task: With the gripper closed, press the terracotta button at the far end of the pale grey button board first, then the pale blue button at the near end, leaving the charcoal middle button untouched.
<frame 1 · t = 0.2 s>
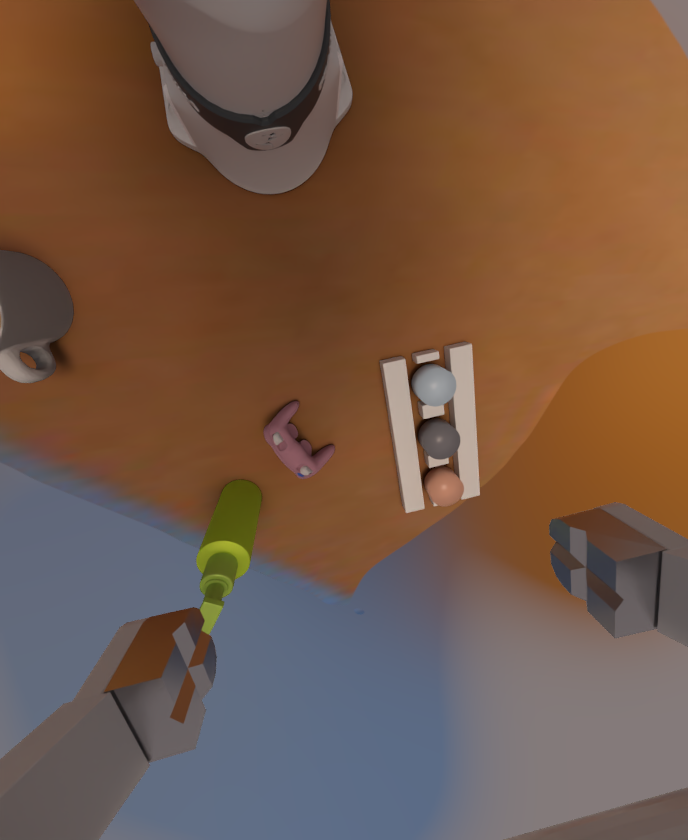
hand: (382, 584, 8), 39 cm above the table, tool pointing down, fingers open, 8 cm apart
charcoal button: (438, 438, 48), point 3 cm above the table, slide at 0.0 cm
coffee mug: (33, 315, 39), on the table
video game controller: (300, 433, 49), on the table
soap dispenser: (240, 498, 51), on the table
terracotta button: (443, 486, 51), point 3 cm above the table, slide at 0.0 cm
button board: (431, 430, 50), on the table
pale blue button: (433, 384, 45), point 3 cm above the table, slide at 0.0 cm
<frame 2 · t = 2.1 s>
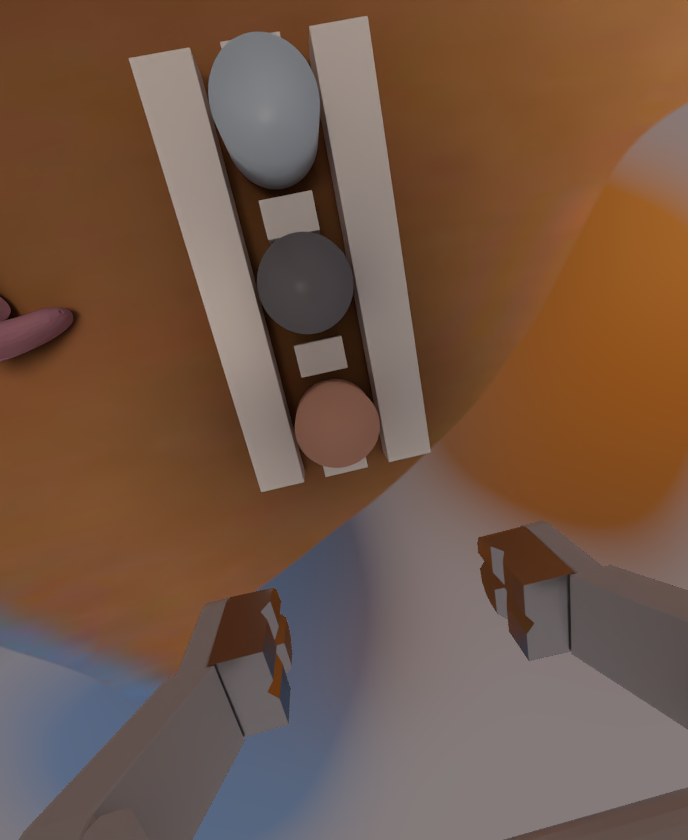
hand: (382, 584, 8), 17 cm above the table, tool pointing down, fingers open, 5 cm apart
charcoal button: (306, 288, 19), point 3 cm above the table, slide at 0.0 cm
terracotta button: (335, 421, 21), point 3 cm above the table, slide at 0.0 cm
button board: (306, 293, 22), on the table
pale blue button: (268, 120, 17), point 3 cm above the table, slide at 0.0 cm
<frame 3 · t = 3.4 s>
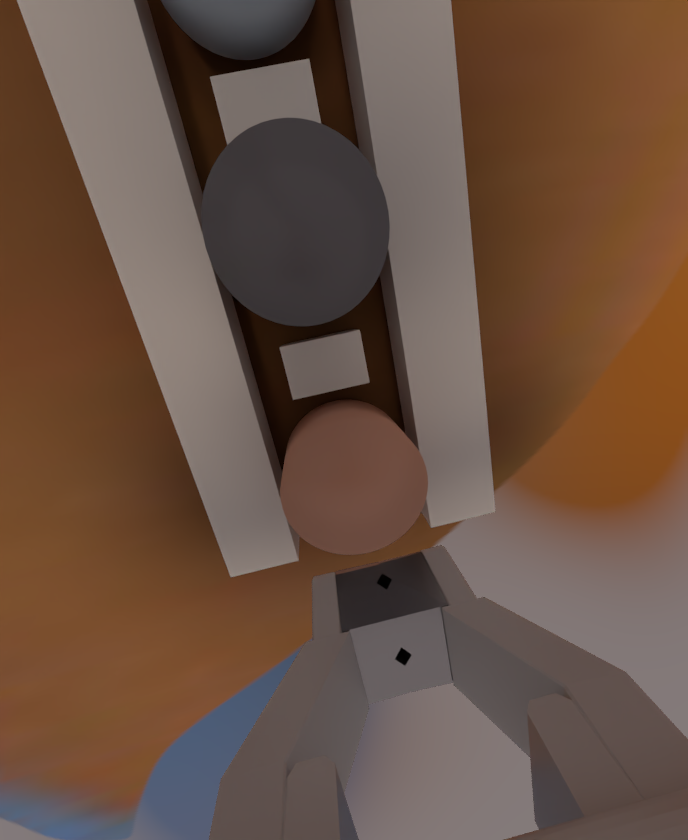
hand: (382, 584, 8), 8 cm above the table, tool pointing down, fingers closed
charcoal button: (299, 242, 11), point 3 cm above the table, slide at 0.0 cm
terracotta button: (350, 472, 13), point 3 cm above the table, slide at 0.0 cm
button board: (301, 260, 13), on the table
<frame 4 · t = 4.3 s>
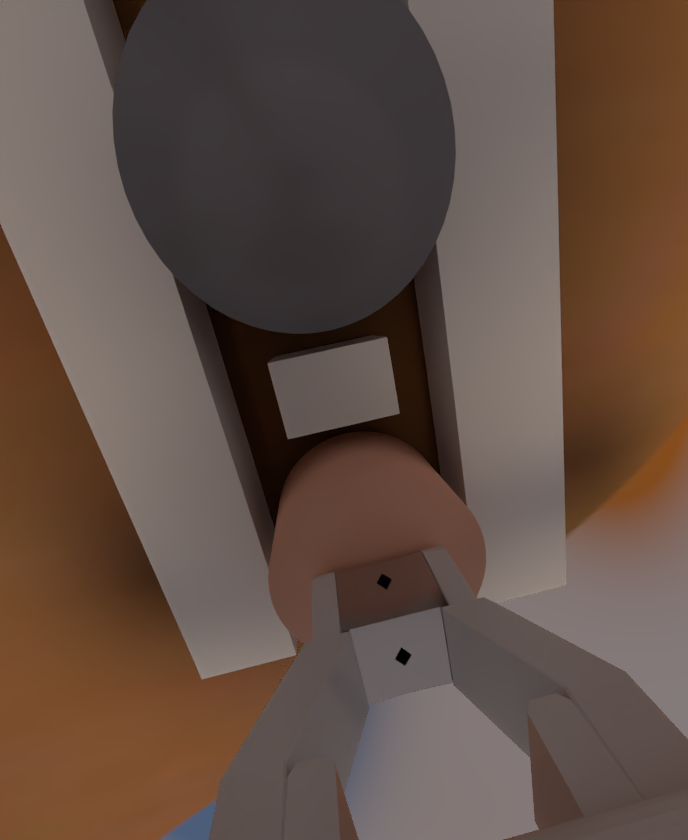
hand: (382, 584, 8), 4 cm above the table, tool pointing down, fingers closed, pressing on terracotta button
charcoal button: (296, 197, 6), point 3 cm above the table, slide at 0.0 cm
terracotta button: (369, 536, 9), point 3 cm above the table, slide at 0.4 cm, touching gripper
button board: (300, 236, 9), on the table
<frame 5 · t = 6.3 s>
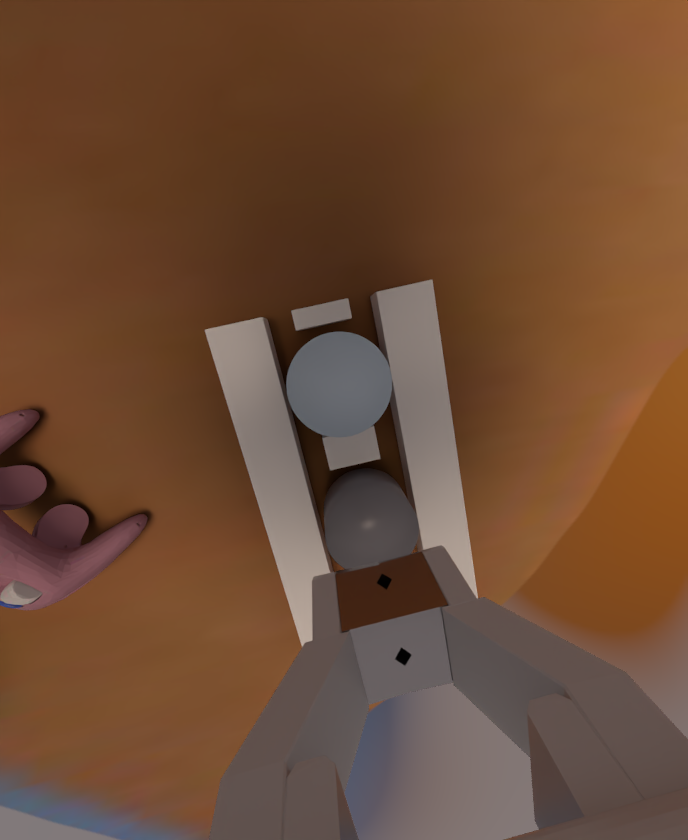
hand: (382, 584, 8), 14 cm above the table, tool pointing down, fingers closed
charcoal button: (368, 518, 19), point 3 cm above the table, slide at 0.0 cm
video game controller: (67, 489, 21), on the table
button board: (361, 495, 22), on the table
pale blue button: (337, 382, 17), point 3 cm above the table, slide at 0.0 cm
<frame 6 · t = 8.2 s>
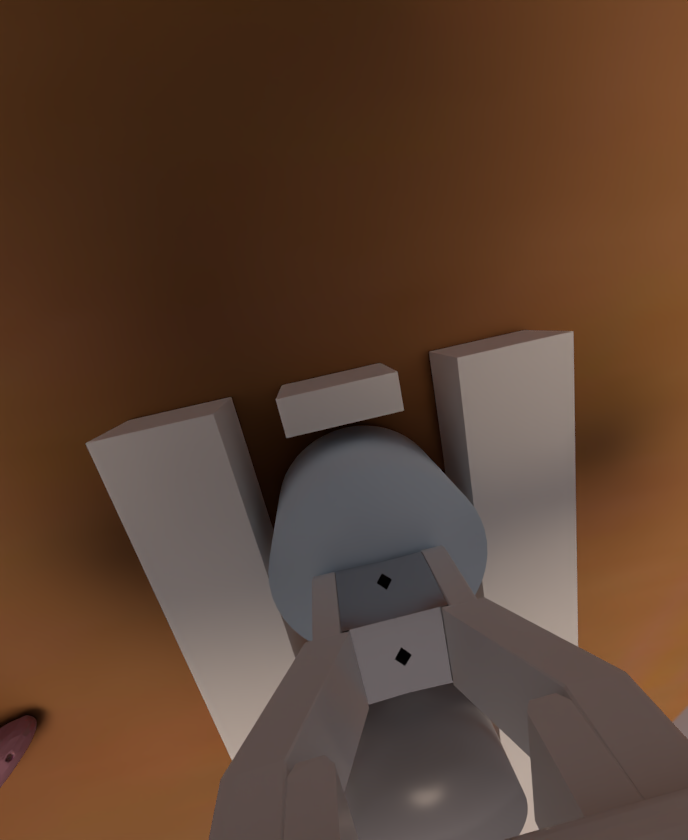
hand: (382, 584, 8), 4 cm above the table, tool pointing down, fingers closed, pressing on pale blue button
charcoal button: (421, 762, 11), point 3 cm above the table, slide at 0.0 cm
button board: (397, 668, 13), on the table
pale blue button: (369, 530, 9), point 2 cm above the table, slide at 0.8 cm, touching gripper
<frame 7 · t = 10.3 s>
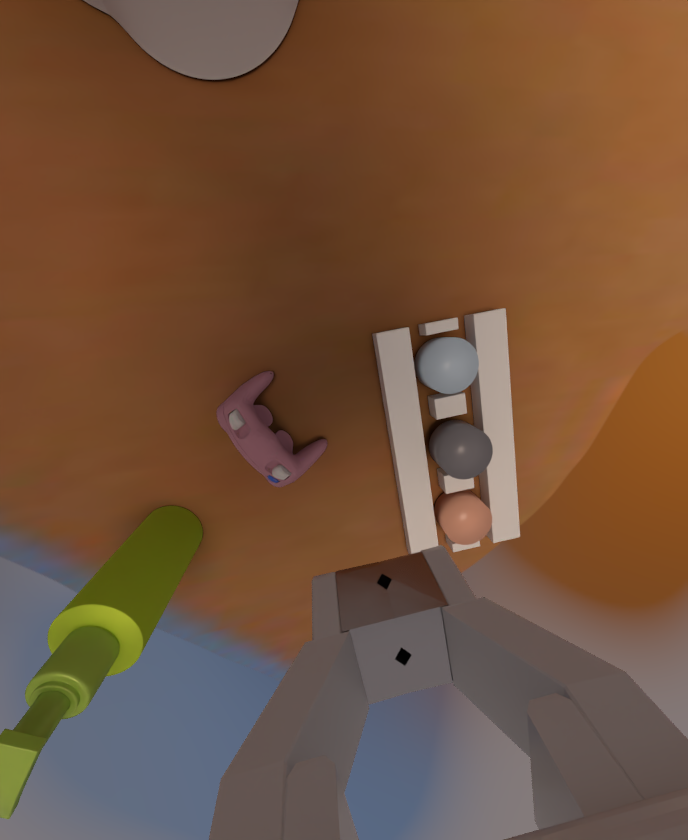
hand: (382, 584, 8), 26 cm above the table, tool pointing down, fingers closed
charcoal button: (459, 448, 32), point 3 cm above the table, slide at 0.0 cm
video game controller: (277, 422, 34), on the table
soap dispenser: (172, 534, 35), on the table
terracotta button: (462, 515, 36), point 2 cm above the table, slide at 1.2 cm
button board: (447, 439, 35), on the table
pale blue button: (445, 364, 32), point 2 cm above the table, slide at 1.3 cm
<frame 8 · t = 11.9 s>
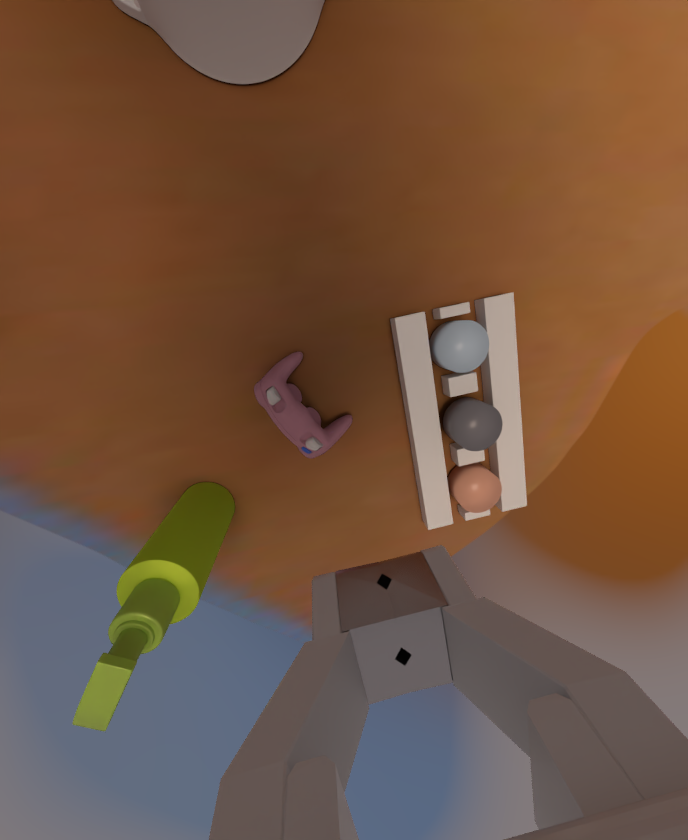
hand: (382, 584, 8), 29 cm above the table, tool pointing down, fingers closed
charcoal button: (471, 423, 35), point 3 cm above the table, slide at 0.0 cm
video game controller: (305, 400, 36), on the table
soap dispenser: (206, 508, 38), on the table
terracotta button: (473, 486, 39), point 2 cm above the table, slide at 1.2 cm
button board: (459, 416, 38), on the table
pale blue button: (457, 346, 34), point 2 cm above the table, slide at 1.3 cm
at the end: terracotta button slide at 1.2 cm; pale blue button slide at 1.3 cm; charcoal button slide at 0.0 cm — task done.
